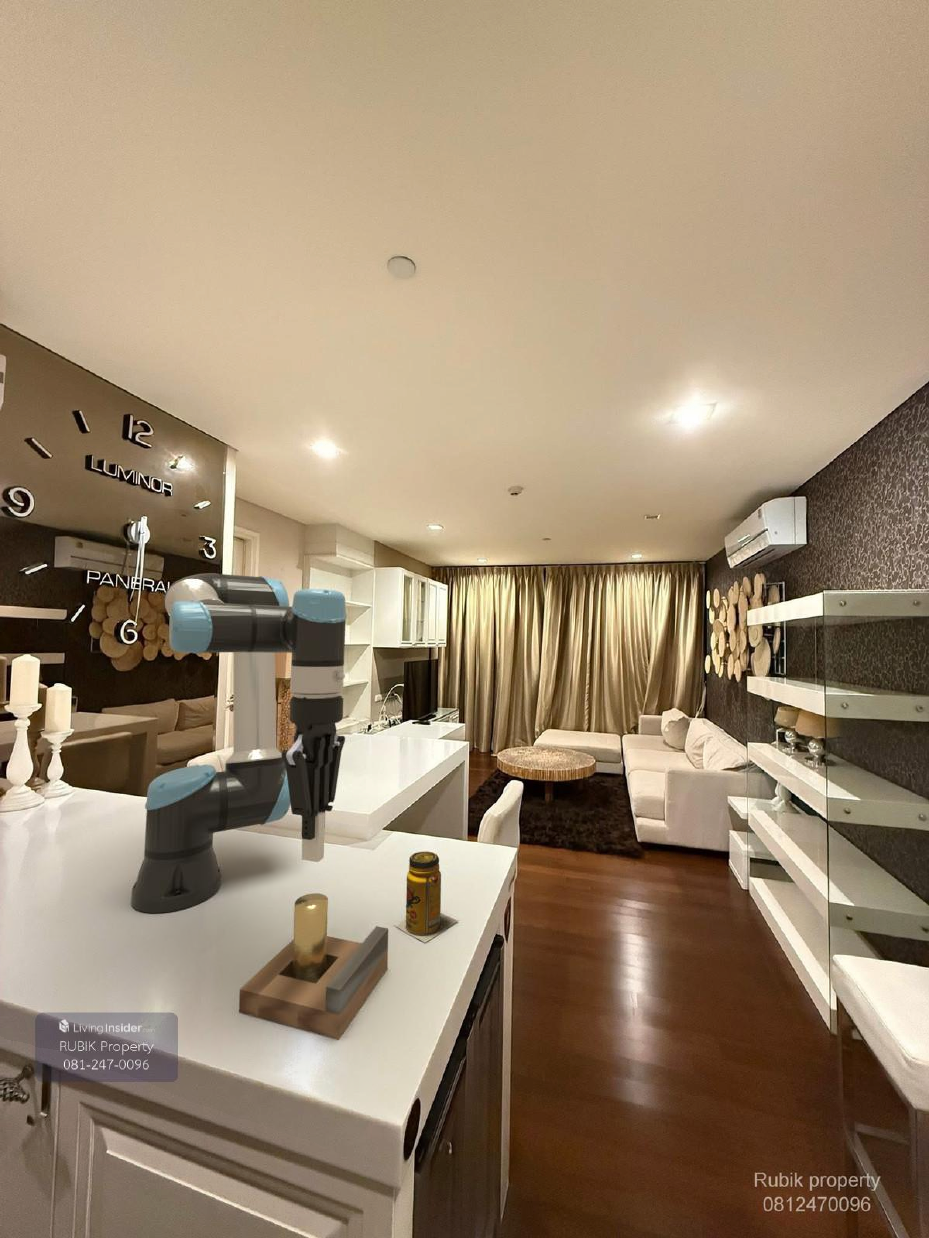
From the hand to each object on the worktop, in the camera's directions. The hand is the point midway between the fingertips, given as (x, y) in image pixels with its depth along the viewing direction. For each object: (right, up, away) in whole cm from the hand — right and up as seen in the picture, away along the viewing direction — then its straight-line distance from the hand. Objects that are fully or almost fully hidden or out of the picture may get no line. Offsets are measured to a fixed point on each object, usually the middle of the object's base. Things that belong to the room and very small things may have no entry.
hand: (312, 858), depth 72 cm
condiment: (+15, -19, +15) cm, 29 cm away
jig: (+1, -18, -1) cm, 18 cm away
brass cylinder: (0, -18, -1) cm, 18 cm away
